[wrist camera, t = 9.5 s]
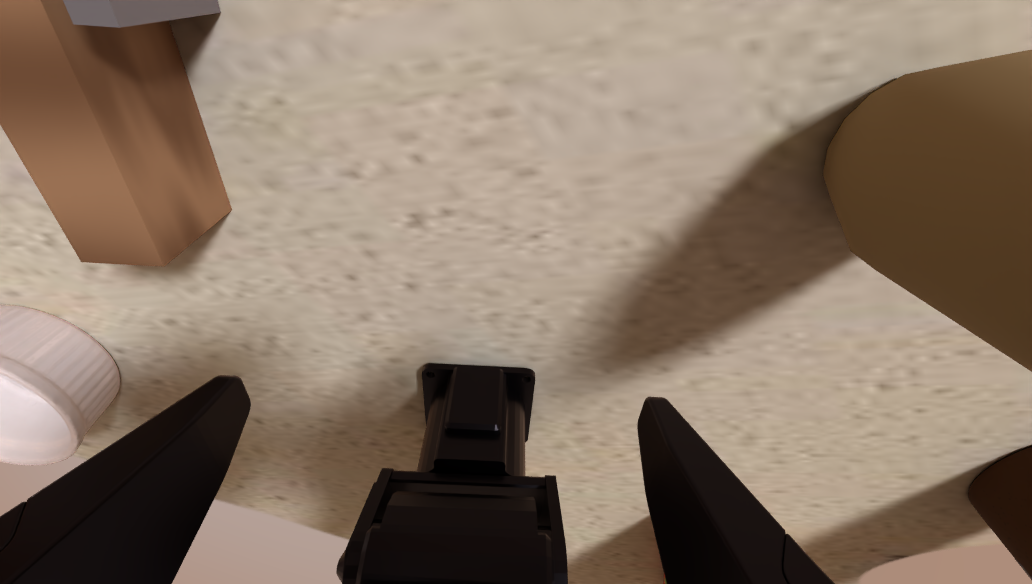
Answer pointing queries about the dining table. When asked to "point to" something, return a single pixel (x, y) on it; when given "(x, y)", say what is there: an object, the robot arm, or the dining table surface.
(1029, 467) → the olive oil
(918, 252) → the squeeze bottle
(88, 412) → the ramekin
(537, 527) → the robot arm
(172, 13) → the end cap
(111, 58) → the slat
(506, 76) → the dining table surface
